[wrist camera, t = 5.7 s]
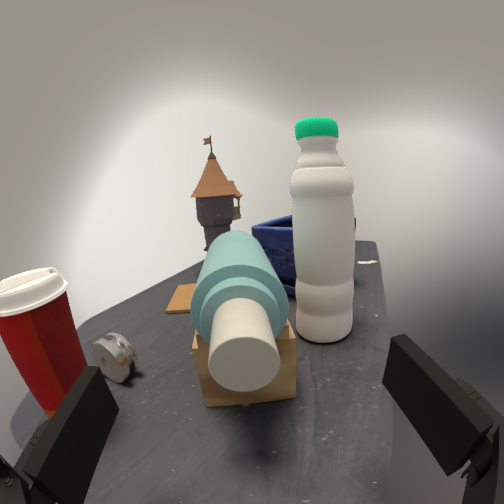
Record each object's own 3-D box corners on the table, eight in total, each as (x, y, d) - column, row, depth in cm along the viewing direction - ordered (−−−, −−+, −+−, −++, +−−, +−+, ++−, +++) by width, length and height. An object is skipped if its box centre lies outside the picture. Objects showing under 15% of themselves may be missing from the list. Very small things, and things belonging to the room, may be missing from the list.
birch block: (206, 406, 21) (188, 335, 19) (212, 344, 32) (202, 285, 30) (296, 397, 21) (295, 324, 20) (277, 337, 32) (273, 278, 30)
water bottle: (289, 342, 31) (275, 116, 25) (303, 315, 37) (292, 128, 31) (349, 347, 28) (345, 110, 22) (353, 318, 34) (348, 124, 28)
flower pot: (319, 310, 38) (317, 229, 35) (255, 291, 47) (248, 224, 44) (357, 281, 47) (358, 215, 44) (300, 269, 56) (297, 212, 53)
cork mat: (166, 314, 41) (165, 310, 41) (179, 287, 53) (178, 285, 52) (241, 307, 42) (240, 304, 41) (238, 282, 53) (238, 279, 53)
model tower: (256, 268, 61) (245, 132, 54) (222, 284, 53) (206, 127, 46) (226, 264, 67) (214, 141, 60) (191, 277, 59) (176, 139, 52)
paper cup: (99, 387, 23) (56, 260, 20) (131, 427, 18) (73, 274, 15) (42, 412, 17) (-15, 283, 14) (62, 461, 12) (-26, 306, 9)
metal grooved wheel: (100, 375, 25) (85, 338, 24) (116, 362, 28) (103, 326, 26) (129, 388, 23) (114, 349, 22) (146, 373, 26) (133, 335, 25)
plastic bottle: (311, 403, 13) (314, 294, 11) (190, 415, 12) (159, 310, 11) (266, 283, 32) (261, 227, 31) (210, 288, 32) (203, 233, 30)
